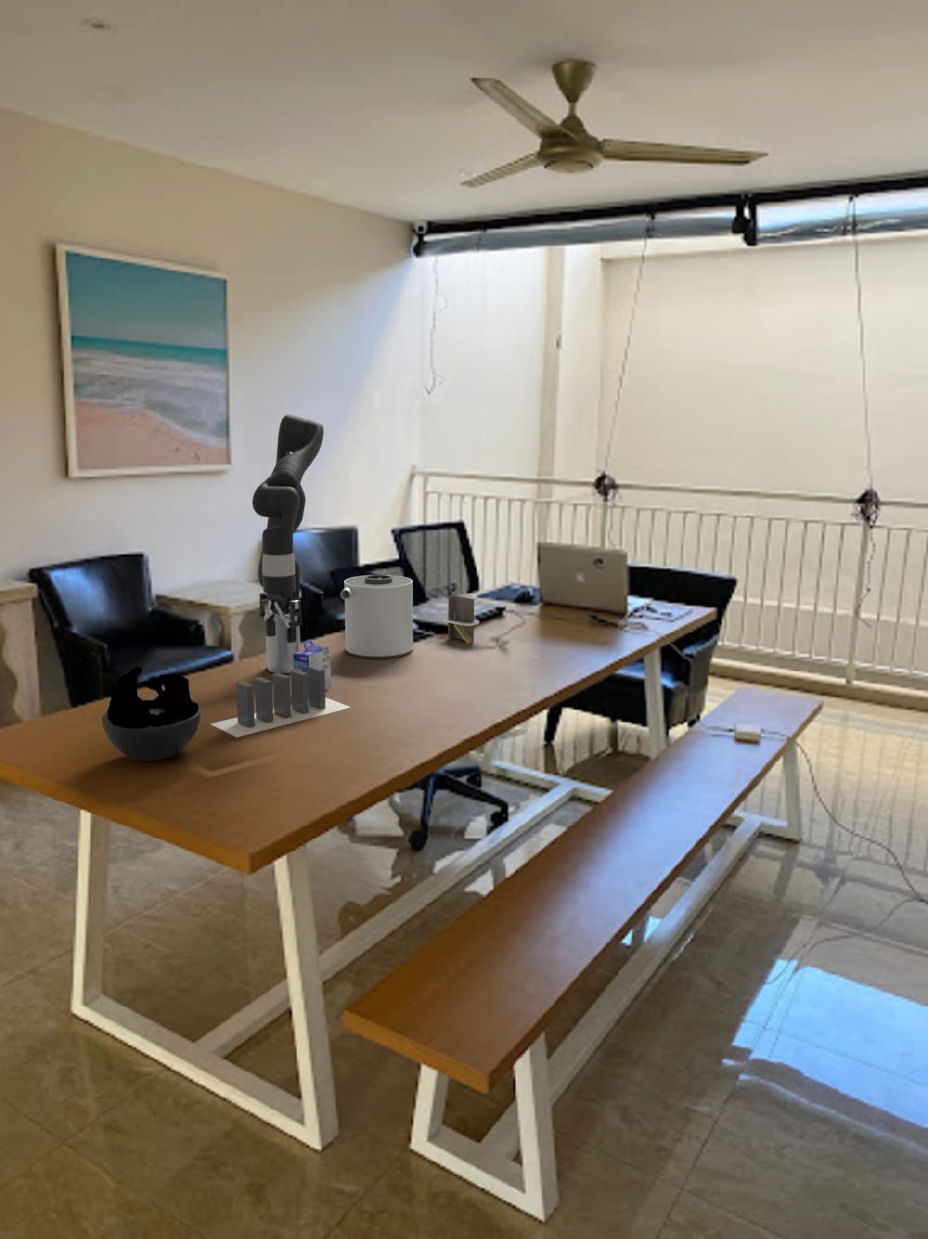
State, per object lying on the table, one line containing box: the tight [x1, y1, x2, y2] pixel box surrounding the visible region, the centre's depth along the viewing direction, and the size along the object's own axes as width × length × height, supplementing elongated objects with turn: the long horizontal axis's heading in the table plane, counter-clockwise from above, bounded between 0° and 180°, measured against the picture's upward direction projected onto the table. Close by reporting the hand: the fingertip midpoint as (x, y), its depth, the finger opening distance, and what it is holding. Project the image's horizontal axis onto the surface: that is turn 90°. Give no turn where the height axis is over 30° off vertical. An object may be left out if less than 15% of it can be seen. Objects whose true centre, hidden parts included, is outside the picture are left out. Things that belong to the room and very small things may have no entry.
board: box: [210, 696, 351, 738], centre depth 221 cm, size 12×32×1 cm, turn 133°
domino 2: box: [254, 676, 274, 723], centre depth 216 cm, size 2×5×10 cm, turn 44°
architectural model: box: [442, 595, 480, 644], centre depth 297 cm, size 20×25×15 cm
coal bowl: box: [101, 666, 202, 762], centre depth 194 cm, size 20×20×19 cm
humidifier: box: [340, 574, 414, 660], centre depth 283 cm, size 22×21×23 cm
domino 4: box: [290, 669, 309, 714], centre depth 223 cm, size 2×5×10 cm, turn 43°
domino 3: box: [272, 673, 292, 718], centre depth 220 cm, size 2×5×10 cm, turn 44°
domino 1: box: [235, 680, 255, 728], centre depth 213 cm, size 2×5×10 cm, turn 44°
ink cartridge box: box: [293, 638, 332, 698], centre depth 239 cm, size 10×6×14 cm, turn 155°
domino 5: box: [308, 666, 326, 710], centre depth 226 cm, size 2×5×10 cm, turn 43°
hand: (281, 639), depth 217 cm, fingers open, 8 cm apart
